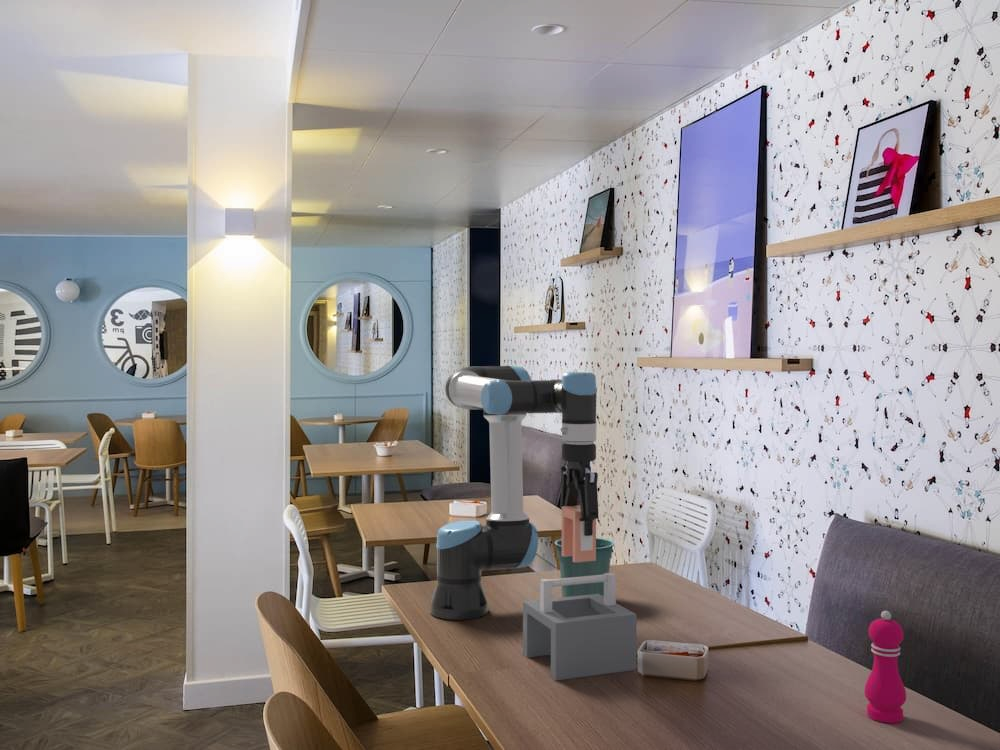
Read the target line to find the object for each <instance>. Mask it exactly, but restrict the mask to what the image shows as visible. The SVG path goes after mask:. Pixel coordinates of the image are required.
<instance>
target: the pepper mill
mask: <svg viewBox="0 0 1000 750" xmlns="http://www.w3.org/2000/svg"><path fill="white" fill-rule="evenodd" d="M880 617H881V618H876V619H875V620H872V622H870V625H869V626H868V637H869V638H870V640H871V641H872V643H871V653H873V664H872V669H871V671H870V673H869V676H868V677H867V679H866V682H865V684H864V685H865V686H864V697H865V698H866V700H868V702H869V703H868V704H867V705H866V714H867V717H868V718H869V719H871V718H872V719H871V720H873V719H874V721H875V720H877V721H876V722H879V721H881V722H880V723H883V722H886V723H885V724H899V723H901V722H903V720H904V709H903V708H902V706H903V705H904V704H905V703H906V701H907V691H906V687H905V685H904V683H903V681H902V678H901V676H900V673H899V672H900V671H899V666H898V658H899V657H898V656H900V655H901V652H900V651H901V647H900V644H901V643H902V641H904V630H903V628H902V626H901V625H900V624H899V622H897V621H895V620H893V619H892V614H891V611H888V610H883V611H882V612H881V614H880ZM898 722H899V723H898Z"/></svg>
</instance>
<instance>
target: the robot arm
mask: <svg viewBox="0 0 1000 750" xmlns="http://www.w3.org/2000/svg"><path fill="white" fill-rule="evenodd" d="M444 391H445V395H446V398H447V400H448V401H449V402H450V403H451V404H452V405H454V406H455V407H458V408H461V409H466V410H473V411H474V410H481V411H482V410H483V418H484V419H485V420H487V422H488V424H489V427H488V428H489V459H490V460H489V462H490V463H489V465H490V500H491V506H490V507H491V512H490V513H489V514H488V516H487V517H486V518H485V522H486V523H485V524H486V525H482V523H481V522H480V521H478V520H460V521H459V520H458V521H455V522H454V521H453V522H450V523H447V524H444V525H442V526H441V527H440V528H439V529H438V531H437V534H436V535H437V536H436V545H435V547H436V585H435V588H434V591H433V593H432V597H431V601H430V604H429V605H430V607H429V608H430V609H429V610H430V611H429V612H430V614H431V615H432V616H433V617H436V618H439V619H444V620H452V621H453V620H454V621H455V620H457V621H458V620H459V621H460V620H461V621H463V620H472V619H477V618H481V617H483V616H486V615H487V614H488V611H489V610H488V609H489V603H488V601H487V596H486V593H485V591H484V587H483V584H482V571H495V570H497V571H498V570H507V569H511V570H512V569H513V570H516V569H518V568H526V567H529V566H531V564H532V563H533V562H534V560H535V558H536V555H537V552H538V547H539V536H538V533H537V532H538V530H537V527H536V525H535V524H534V523H533V522H530V516H529V515H528V514H527V513H526V512H525V511H524V484H523V483H524V481H523V478H524V476H523V448H522V447H523V446H522V440H523V439H522V421H524V419H525V418H526V417H527V414H561V428H560V432H561V439H562V441H563V443H562V444H561V459H562V461H565V462H567V464H566V465H564V466H561V467H560V470H561V471H560V473H561V483H560V502H559V503H560V504H559V508H560V509H559V510H561V511H562V506H578V505H577V504H578V500H579V505H580V507H581V514H582V518H580V519H579V520H580V551H587V550H593V520H594V519H596V520H597V519H599V499H598V496H599V495H598V476H599V475H598V474H599V473H598V472H593V471H592V469H591V468H592V467H591V462H594V461H596V459H597V444H596V443H595V442H596V441H597V393H598V388H597V378H596V374H595V373H593V372H585V371H584V372H581V371H579V372H576V371H575V372H574V371H573V372H571V371H570V372H569V371H568V372H564V373H563V374H562V378H561V379H548V380H546V379H544V380H543V379H540V380H532V378H531V376H530V374H529V372H528V371H527V370H526V368H523V367H522V366H516V365H515V366H514V365H489V366H488V365H485V366H479V365H477V366H476V365H475V366H473V365H472V366H467V367H462V368H459V369H457V370H456V371H454V372H453V373H451V374H450V375H449V377H448V378H447V380H446V383H445V386H444Z"/></svg>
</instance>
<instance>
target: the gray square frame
mask: <svg viewBox="0 0 1000 750" xmlns="http://www.w3.org/2000/svg"><path fill="white" fill-rule="evenodd" d="M597 582H604V596H602V595H600V594H591V595H581V596H571V597H553V588H554V587H562V586H566V585H577V584H587V583H597ZM637 616H638V615H637V613H635V612H633V611H631V610H629V609H627V608H625V607H624V606H622V605H620V604H618V603H617V574H615V573H614V572H609V573H604V574H603V575H593V576H582V577H571V578H561V577H560V578H553V579H552V578H551V579H550V578H541V579H539V599H534V600H533V599H532V600H523V601H522V655H523V656H524V657H526V658H534V657H535V658H536V657H542V656H550V677H551V679H552V680H555V682H557V681H562V680H569V679H571V680H572V679H579V678H584V677H593V676H599V675H600V676H601V675H608V674H615V673H622V672H629V671H635V670H637V623H638V622H637Z"/></svg>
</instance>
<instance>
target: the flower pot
mask: <svg viewBox="0 0 1000 750" xmlns="http://www.w3.org/2000/svg"><path fill="white" fill-rule="evenodd" d="M554 546H556V551H557V553H556V554H557V558H558V562H559V572H560V573H559V575H560V579H561V578H571V577H582V576H593V575H603V574H604V573H610V566H611V559H612V556H613V554H612V553H613V547H614V546H615V542H614V541H613V540H610V539H608V538H607V539H606V538H601V537H596V561H586V562H573V556H568V557H563V556H562V538H561V539H558V540H556V541H554ZM591 594H600V595H602V596H604V582H597V583H587V584H577V585H566V586H561V596H562V597H571V596H581V595H591Z"/></svg>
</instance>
